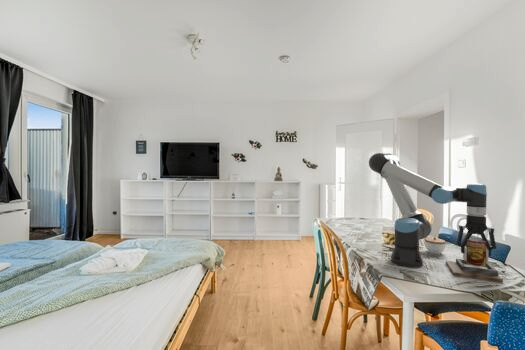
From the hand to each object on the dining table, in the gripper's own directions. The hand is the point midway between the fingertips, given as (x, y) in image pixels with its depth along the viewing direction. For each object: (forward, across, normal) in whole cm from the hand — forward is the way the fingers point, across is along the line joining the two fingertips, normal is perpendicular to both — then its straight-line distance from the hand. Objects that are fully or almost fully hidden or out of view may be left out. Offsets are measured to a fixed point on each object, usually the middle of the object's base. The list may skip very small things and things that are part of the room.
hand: (475, 261), depth 129 cm
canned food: (+1, 0, 0) cm, 1 cm away
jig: (+5, -2, -2) cm, 6 cm away
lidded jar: (+6, -13, +27) cm, 30 cm away
